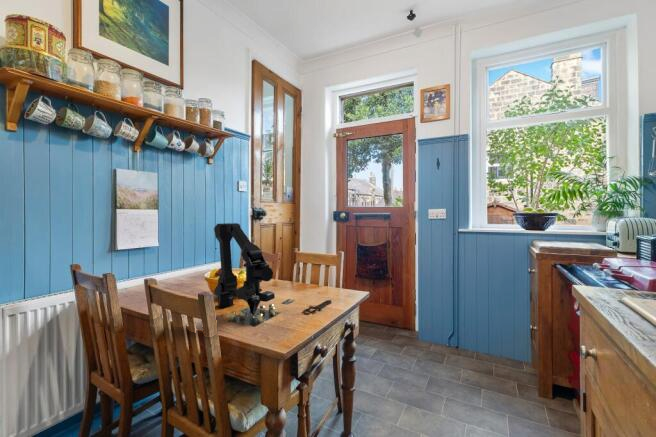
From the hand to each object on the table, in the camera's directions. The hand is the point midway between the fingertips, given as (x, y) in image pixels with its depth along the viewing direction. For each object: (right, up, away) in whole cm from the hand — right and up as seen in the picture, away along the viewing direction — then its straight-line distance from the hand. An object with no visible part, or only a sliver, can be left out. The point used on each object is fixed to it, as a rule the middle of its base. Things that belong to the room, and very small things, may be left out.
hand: (253, 314), depth 130 cm
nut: (-3, -1, +2) cm, 4 cm away
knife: (+27, -2, +14) cm, 31 cm away
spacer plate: (+1, -2, 0) cm, 2 cm away
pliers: (+8, -2, +17) cm, 19 cm away
